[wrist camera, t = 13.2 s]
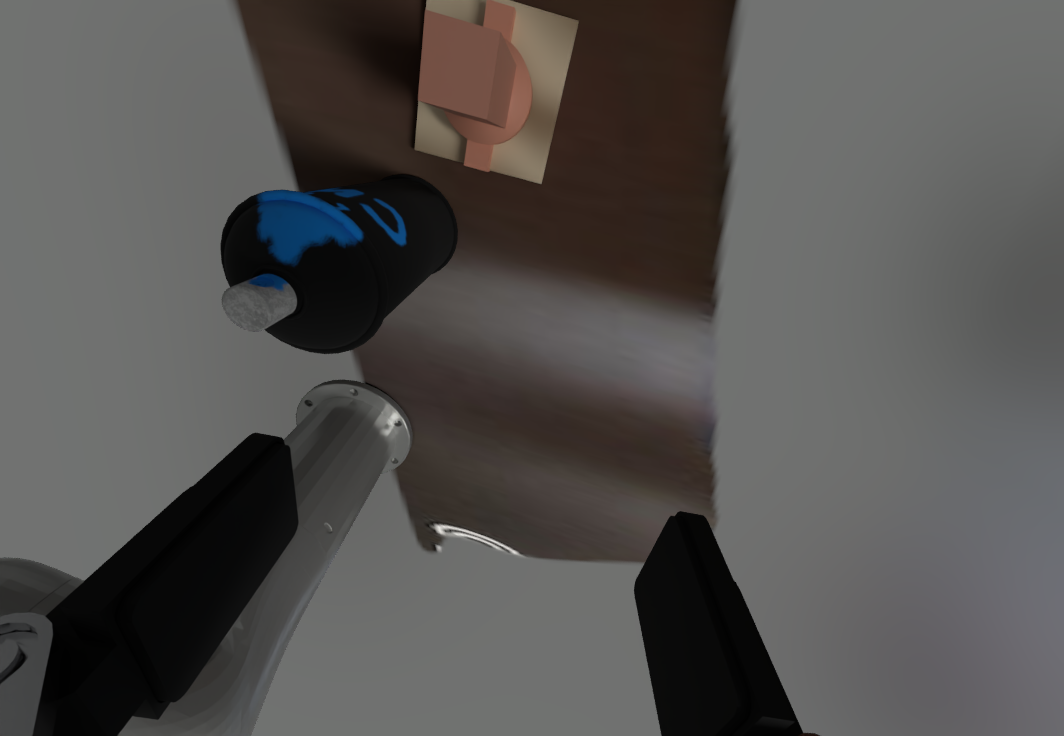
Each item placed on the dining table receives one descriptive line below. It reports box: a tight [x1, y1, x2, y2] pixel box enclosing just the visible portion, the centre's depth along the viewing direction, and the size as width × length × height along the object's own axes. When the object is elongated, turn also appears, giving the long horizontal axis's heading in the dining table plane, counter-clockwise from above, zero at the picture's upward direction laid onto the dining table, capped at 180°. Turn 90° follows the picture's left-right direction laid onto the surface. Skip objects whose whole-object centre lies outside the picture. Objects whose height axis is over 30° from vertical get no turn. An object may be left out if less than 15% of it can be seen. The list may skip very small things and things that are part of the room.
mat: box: [415, 0, 579, 184], centre depth 28 cm, size 10×10×1 cm
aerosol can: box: [221, 174, 458, 354], centre depth 24 cm, size 8×8×20 cm
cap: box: [418, 0, 533, 172], centre depth 23 cm, size 10×6×10 cm, turn 166°
